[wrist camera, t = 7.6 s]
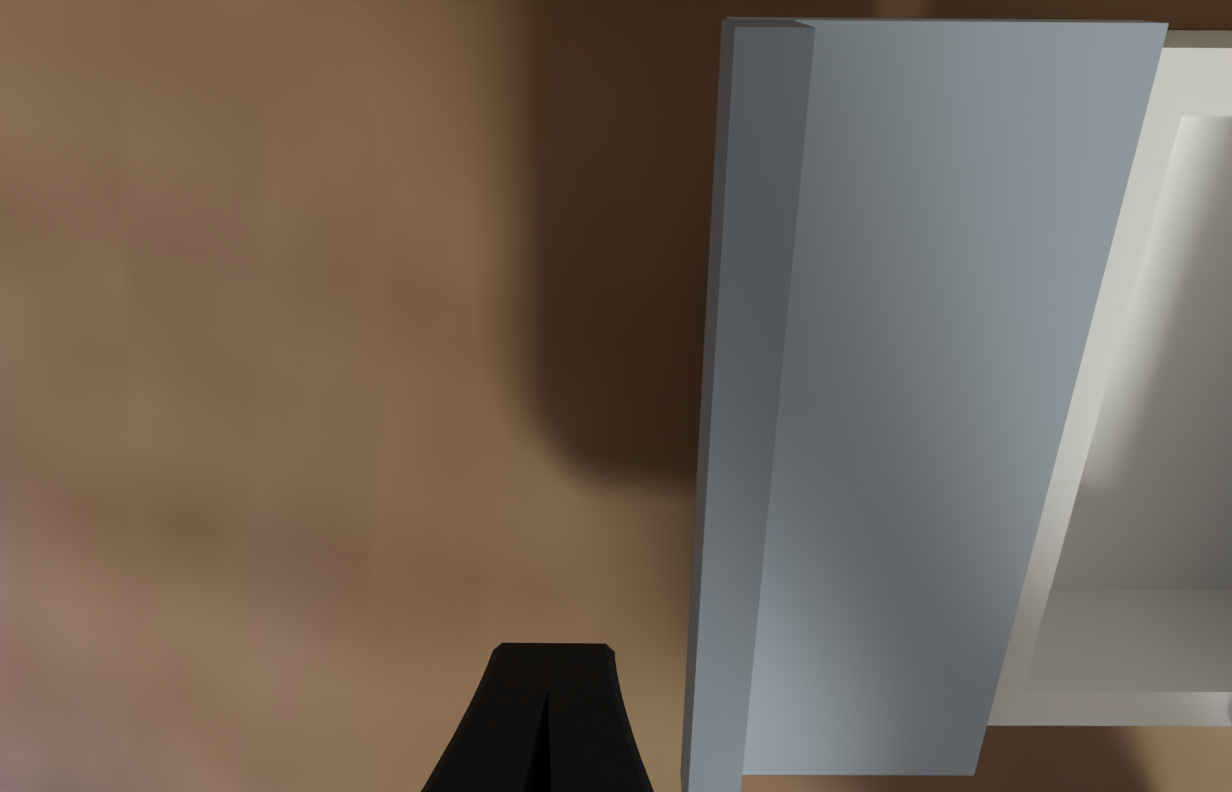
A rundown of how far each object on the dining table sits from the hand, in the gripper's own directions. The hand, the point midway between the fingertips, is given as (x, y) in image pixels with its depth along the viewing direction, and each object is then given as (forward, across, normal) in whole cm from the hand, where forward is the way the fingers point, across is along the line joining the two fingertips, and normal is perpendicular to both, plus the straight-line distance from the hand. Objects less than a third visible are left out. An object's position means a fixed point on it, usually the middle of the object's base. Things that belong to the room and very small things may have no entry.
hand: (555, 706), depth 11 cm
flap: (+6, -5, 0) cm, 8 cm away
